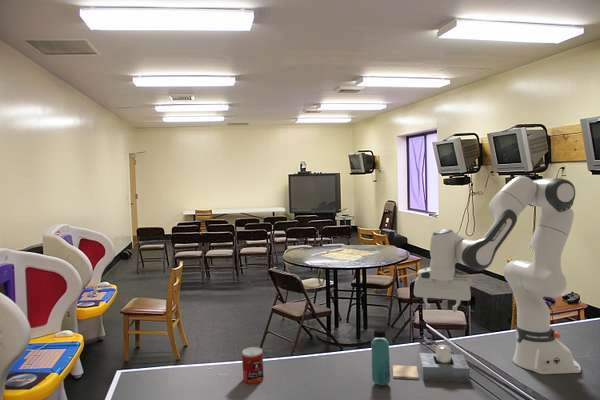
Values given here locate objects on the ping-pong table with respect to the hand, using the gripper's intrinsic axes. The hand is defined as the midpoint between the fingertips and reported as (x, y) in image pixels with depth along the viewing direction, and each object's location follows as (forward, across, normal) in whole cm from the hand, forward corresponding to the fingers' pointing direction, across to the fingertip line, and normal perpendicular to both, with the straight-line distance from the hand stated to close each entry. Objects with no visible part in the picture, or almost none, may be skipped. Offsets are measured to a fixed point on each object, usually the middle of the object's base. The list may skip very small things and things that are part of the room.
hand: (441, 310), depth 161 cm
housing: (+24, -1, +1) cm, 24 cm away
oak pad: (+24, +13, +3) cm, 27 cm away
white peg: (+24, -1, +1) cm, 24 cm away
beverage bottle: (+25, +21, +14) cm, 35 cm away
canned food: (+27, +67, +19) cm, 75 cm away
